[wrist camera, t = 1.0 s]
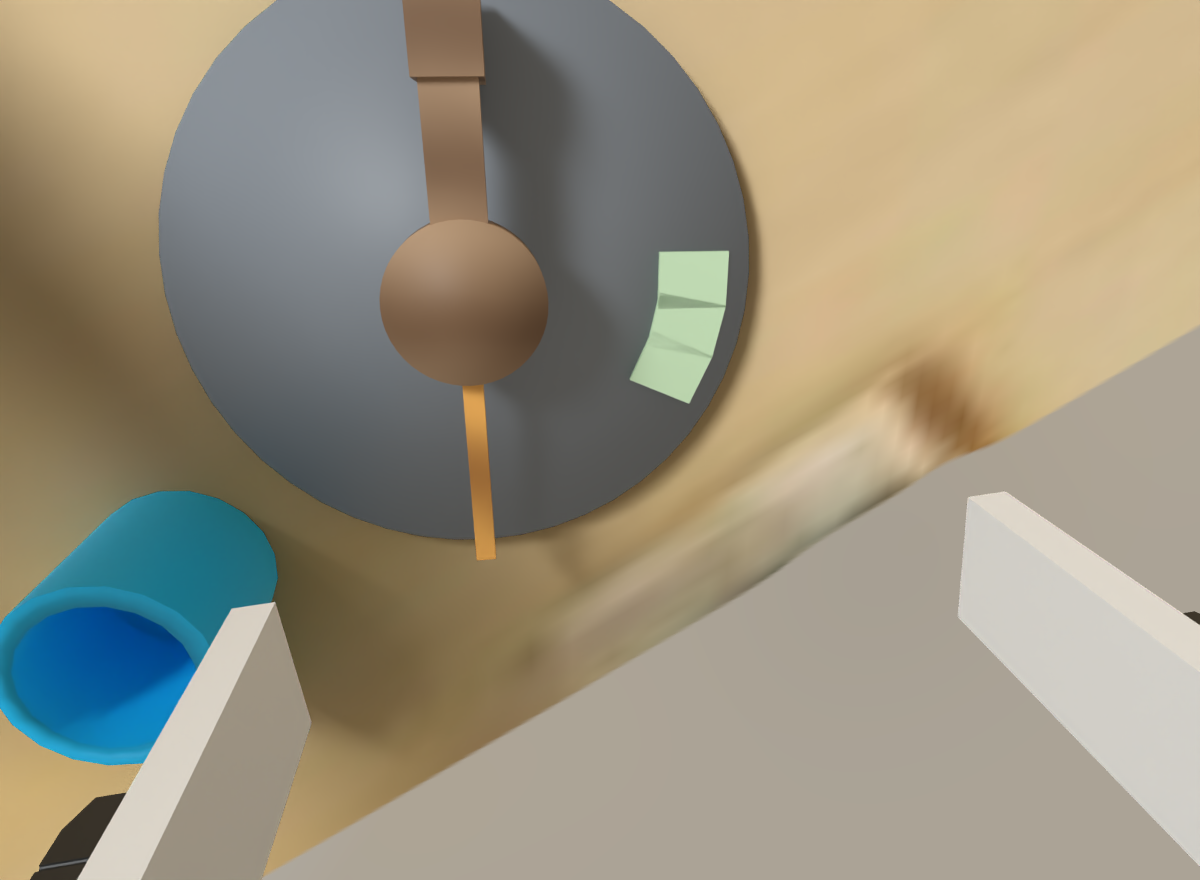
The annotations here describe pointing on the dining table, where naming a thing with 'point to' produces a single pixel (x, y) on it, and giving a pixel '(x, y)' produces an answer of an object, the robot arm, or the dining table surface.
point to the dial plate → (400, 207)
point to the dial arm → (460, 244)
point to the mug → (129, 624)
